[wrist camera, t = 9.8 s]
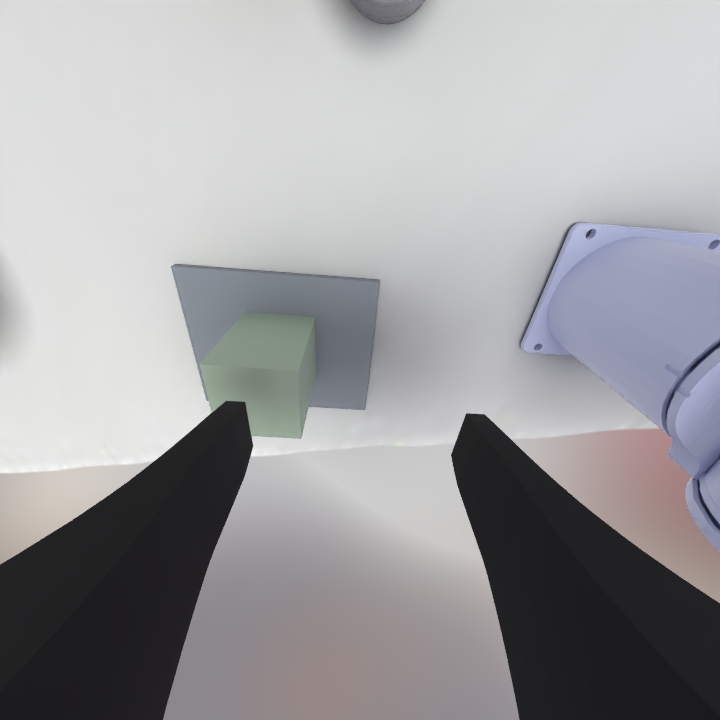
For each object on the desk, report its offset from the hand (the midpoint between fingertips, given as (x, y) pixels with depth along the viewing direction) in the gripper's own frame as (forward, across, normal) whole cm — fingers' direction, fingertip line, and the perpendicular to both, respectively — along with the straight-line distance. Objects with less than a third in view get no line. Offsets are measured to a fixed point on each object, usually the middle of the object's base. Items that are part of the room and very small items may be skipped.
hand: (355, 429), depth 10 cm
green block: (+10, +5, +3) cm, 11 cm away
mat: (+10, +5, +3) cm, 12 cm away
